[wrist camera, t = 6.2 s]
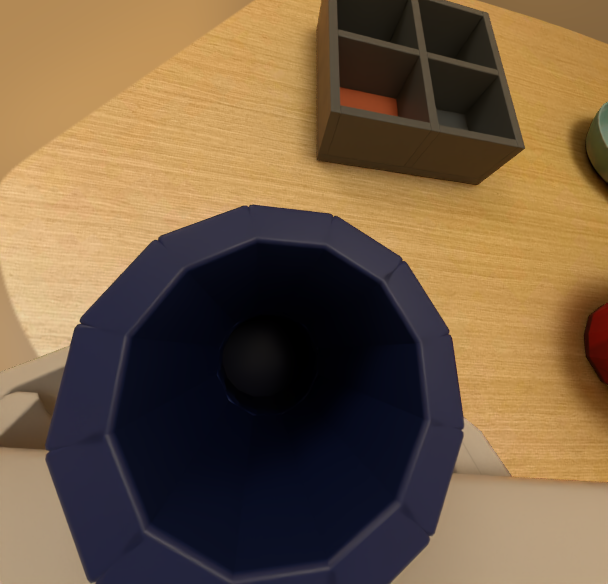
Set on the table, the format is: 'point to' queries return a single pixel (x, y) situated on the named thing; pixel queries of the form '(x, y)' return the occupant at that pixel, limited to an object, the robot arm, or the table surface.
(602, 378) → the bottle
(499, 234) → the table surface
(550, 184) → the table surface
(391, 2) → the tray
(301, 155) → the table surface
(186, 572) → the navy bottle
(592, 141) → the saucer
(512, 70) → the table surface
